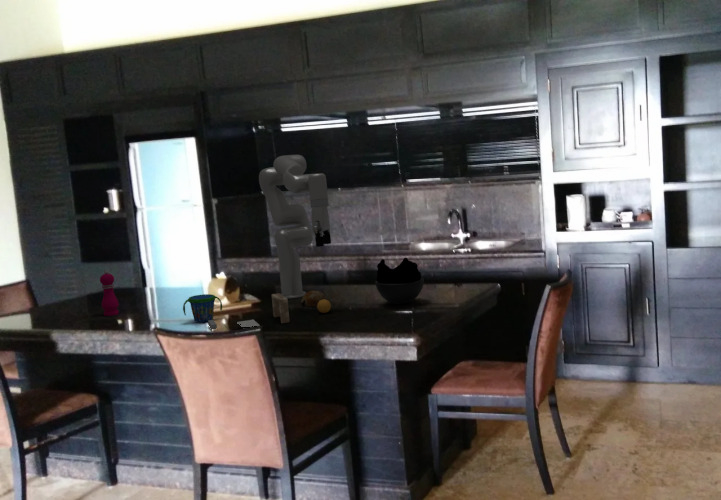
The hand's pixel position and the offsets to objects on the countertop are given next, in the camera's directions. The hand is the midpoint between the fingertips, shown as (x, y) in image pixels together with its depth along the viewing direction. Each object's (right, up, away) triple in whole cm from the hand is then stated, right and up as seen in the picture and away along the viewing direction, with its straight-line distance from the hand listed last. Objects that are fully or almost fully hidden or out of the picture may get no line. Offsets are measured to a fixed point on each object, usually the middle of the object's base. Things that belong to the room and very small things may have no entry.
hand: (323, 245), depth 314 cm
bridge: (-16, -30, -11) cm, 36 cm away
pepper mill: (-96, -31, +25) cm, 103 cm away
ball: (0, -25, -6) cm, 25 cm away
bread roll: (-5, -26, +13) cm, 29 cm away
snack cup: (-49, -31, -3) cm, 58 cm away
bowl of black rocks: (+32, -24, +1) cm, 40 cm away
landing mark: (-31, -31, -16) cm, 47 cm away
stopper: (-42, -33, -19) cm, 56 cm away
